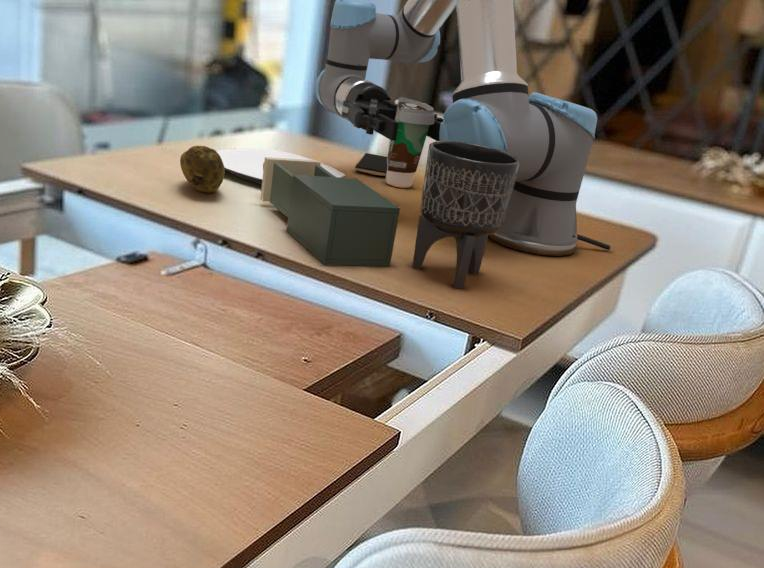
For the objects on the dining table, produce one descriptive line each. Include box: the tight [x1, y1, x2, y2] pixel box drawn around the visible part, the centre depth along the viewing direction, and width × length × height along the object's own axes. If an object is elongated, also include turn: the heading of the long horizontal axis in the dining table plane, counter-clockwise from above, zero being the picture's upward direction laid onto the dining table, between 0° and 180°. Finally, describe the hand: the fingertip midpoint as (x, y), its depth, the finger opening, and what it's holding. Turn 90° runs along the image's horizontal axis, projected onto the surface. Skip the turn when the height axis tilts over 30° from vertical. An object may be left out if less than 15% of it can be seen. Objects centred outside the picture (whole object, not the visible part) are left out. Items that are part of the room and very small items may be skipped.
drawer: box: [260, 157, 335, 218], centre depth 164 cm, size 19×9×7 cm, turn 23°
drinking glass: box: [385, 98, 426, 189], centre depth 192 cm, size 7×7×15 cm
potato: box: [179, 145, 226, 193], centre depth 166 cm, size 8×13×8 cm, turn 174°
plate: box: [216, 148, 347, 185], centre depth 186 cm, size 23×23×2 cm
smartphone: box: [354, 152, 387, 177], centre depth 204 cm, size 7×1×15 cm
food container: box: [386, 96, 436, 174], centre depth 166 cm, size 12×6×10 cm, turn 179°
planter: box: [412, 140, 520, 290], centre depth 145 cm, size 13×13×18 cm
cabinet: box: [286, 175, 401, 267], centre depth 151 cm, size 16×11×9 cm
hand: (421, 133), depth 162 cm, fingers closed on food container, 9 cm apart
